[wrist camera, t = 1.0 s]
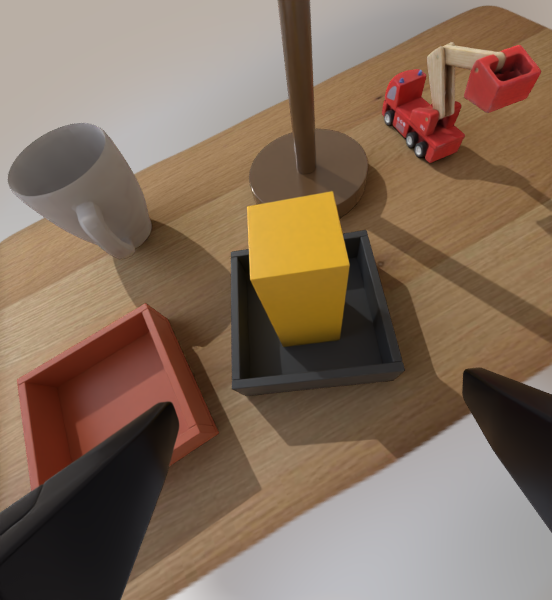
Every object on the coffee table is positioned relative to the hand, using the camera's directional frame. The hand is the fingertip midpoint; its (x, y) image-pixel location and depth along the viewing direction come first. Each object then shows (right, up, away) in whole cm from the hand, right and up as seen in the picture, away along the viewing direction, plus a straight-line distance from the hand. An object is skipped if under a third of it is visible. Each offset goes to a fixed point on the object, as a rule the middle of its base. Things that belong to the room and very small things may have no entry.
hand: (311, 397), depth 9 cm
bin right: (+2, +1, +15) cm, 15 cm away
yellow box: (+1, +2, +15) cm, 15 cm away
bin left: (-13, -6, +14) cm, 20 cm away
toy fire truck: (+15, +20, +22) cm, 33 cm away
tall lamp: (+2, +16, +22) cm, 27 cm away
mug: (-17, +9, +23) cm, 30 cm away
